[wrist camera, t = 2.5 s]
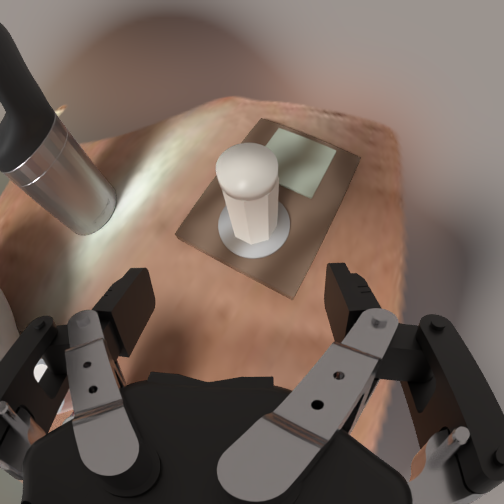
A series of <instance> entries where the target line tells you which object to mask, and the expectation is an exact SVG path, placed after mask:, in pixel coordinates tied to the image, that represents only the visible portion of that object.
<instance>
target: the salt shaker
mask: <svg viewBox="0 0 504 504" xmlns="http://www.w3.org/2000/svg"><path fill="white" fill-rule="evenodd" d="M216 174H217V178H218V181H219V184H220V187H221V189H222V191H223V195H224V199H225V202H226V206H227V210H228V213H229V217H230V220H231V224H232V227H233V231H234V234H235V237H237V238H239V239H241V240H243V241H245V242H247V243H249V244H251V245H252V244H255V243H259V242H262V241H266V240H269V238H270V236H271V235H272V233H273V231H274V230H275V228H276V226H277V217H278V193H279V177H278V161H277V158H276V156H275V155H274V153H273V152H272V151H271V150H270V149H268V148H267V147H265V146H263V145H260V144H256V143H241V144H237V145H234V146H232V147H230V148H228V149H227V150H225V151H224V152H223V153H222V154H221V156H220V157H219V159H218V161H217V163H216Z"/></svg>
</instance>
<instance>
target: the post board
mask: <svg viewBox="0 0 504 504" xmlns="http://www.w3.org/2000/svg"><path fill="white" fill-rule="evenodd" d="M242 143H256V144H260V145H263V146H265V147H267V148H268V149H270V150H271V151H272V152H273V153H274V155H275V156H276V158H277V161H278V177H279V193H278V217H277V226H276V228H275V230H274V231H273V233H272V235H271V236H270V238H269V240H266V241H262V242H259V243H255V244H252V245H251V244H249V243H247V242H245V241H243V240H241V239H239V238H237V237H235V234H234V231H233V227H232V224H231V220H230V217H229V213H228V210H227V206H226V202H225V199H224V195H223V191H222V189H221V187H220V184H219V181H218V178H217V175H216V176H215V178H214V179H213V181H212V182H211V183H210V185H209V186H208V187H207V189H206V190H205V191H204V193H203V194H202V196H201V197H200V198H199V200H198V201H197V203H196V204H195V205H194V207H193V208H192V210H191V211H190V213H189V214H188V215H187V217H186V218H185V220H184V221H183V223H182V224H181V226H180V227H179V229H178V230H177V231H176V233H175V235H176V236H177V238H178V239H179V240H181V241H183V242H185V243H187V244H188V245H190V246H192V247H194V248H196V249H198V250H199V251H201V252H203V253H205V254H207V255H209V256H210V257H212V258H214V259H216V260H218V261H220V262H221V263H223V264H225V265H227V266H229V267H231V268H233V269H234V270H236V271H238V272H240V273H242V274H244V275H246V276H248V277H249V278H251V279H253V280H255V281H257V282H259V283H261V284H263V285H265V286H267V287H268V288H270V289H272V290H274V291H276V292H278V293H280V294H282V295H284V296H286V297H288V298H289V299H291V300H293V298H294V297H295V295H296V293H297V291H298V289H299V287H300V285H301V283H302V281H303V279H304V277H305V275H306V274H307V272H308V270H309V268H310V266H311V264H312V262H313V260H314V258H315V256H316V254H317V252H318V250H319V248H320V246H321V244H322V242H323V240H324V238H325V235H326V233H327V231H328V229H329V227H330V225H331V223H332V221H333V219H334V217H335V215H336V212H337V210H338V208H339V206H340V204H341V202H342V199H343V197H344V195H345V193H346V191H347V188H348V186H349V184H350V182H351V180H352V177H353V175H354V173H355V170H356V168H357V166H358V163H359V161H360V157H358V156H356V155H354V154H352V153H349V152H347V151H345V150H343V149H341V148H338V147H336V146H334V145H331V144H329V143H327V142H324V141H322V140H319V139H317V138H314V137H312V136H309V135H307V134H304V133H302V132H299V131H296V130H294V129H291V128H288V127H286V126H283V125H280V124H277V123H274V122H271V121H268V120H265V119H262V118H261V119H260V120H259V121H258V123H257V124H256V125H255V126H254V128H253V129H252V130H251V131H250V132H249V134H248V135H247V136H246V137H245V139H244V140H243V141H242Z"/></svg>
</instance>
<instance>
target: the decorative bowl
mask: <svg viewBox="0 0 504 504" xmlns="http://www.w3.org/2000/svg"><path fill="white" fill-rule="evenodd" d="M19 336H20V334H19V331H18V329H17V327H16V323H15V319H14V316H13V313H12V311H11V308H10V306H9V303H8V301H7V299H6V297H5V295H4V293H3V292H2V290H1V288H0V361H1V360H2V358H3V357H4V356H5V354H6V353H7V352H8V350H9V349H10V348H11V346H12V345H13V344H14V343H15V341H16V340H17V339H18V338H19Z"/></svg>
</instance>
